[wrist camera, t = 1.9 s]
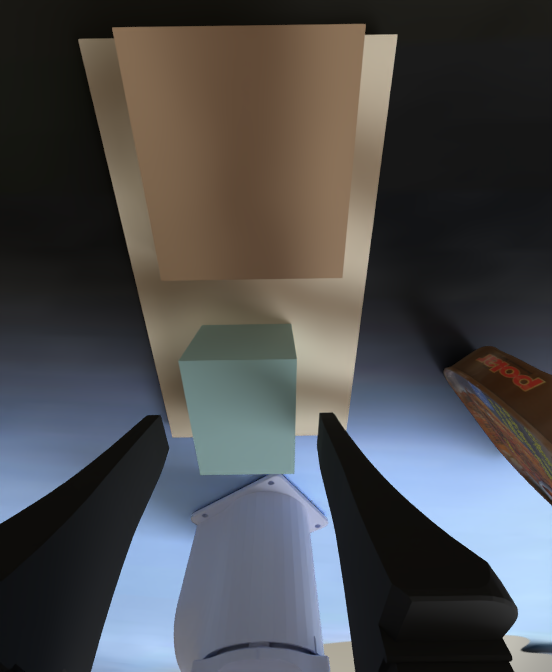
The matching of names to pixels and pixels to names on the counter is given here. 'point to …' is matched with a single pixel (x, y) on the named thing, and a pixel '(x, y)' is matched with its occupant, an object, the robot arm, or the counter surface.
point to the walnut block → (245, 145)
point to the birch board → (254, 294)
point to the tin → (510, 409)
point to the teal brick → (242, 398)
